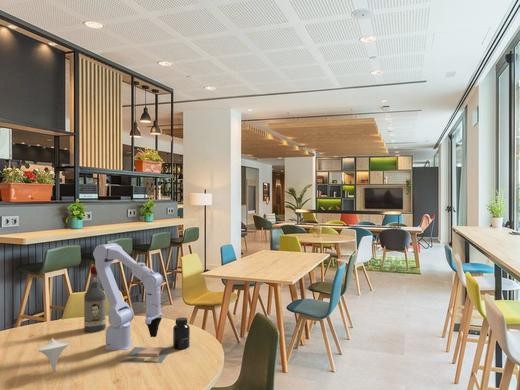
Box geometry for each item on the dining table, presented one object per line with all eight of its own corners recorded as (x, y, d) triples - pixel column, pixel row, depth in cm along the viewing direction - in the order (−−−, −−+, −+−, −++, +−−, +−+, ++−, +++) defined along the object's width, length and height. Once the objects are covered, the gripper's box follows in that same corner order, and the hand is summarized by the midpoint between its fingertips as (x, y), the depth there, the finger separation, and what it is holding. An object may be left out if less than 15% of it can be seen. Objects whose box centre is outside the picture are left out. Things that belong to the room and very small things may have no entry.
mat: (119, 363, 154) (119, 362, 154) (134, 348, 170) (134, 347, 170) (161, 363, 153) (161, 362, 153) (172, 348, 169) (172, 347, 169)
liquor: (84, 327, 198) (84, 266, 198) (104, 325, 201) (104, 264, 202) (84, 333, 189) (84, 268, 190) (105, 330, 193) (105, 267, 193)
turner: (120, 361, 155) (120, 359, 155) (124, 358, 158) (124, 355, 158) (156, 362, 154) (156, 359, 154) (159, 358, 158) (159, 355, 158)
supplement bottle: (186, 351, 166) (185, 321, 166) (170, 350, 168) (170, 320, 168) (192, 345, 173) (192, 316, 173) (177, 344, 174) (176, 316, 174)
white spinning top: (33, 372, 147) (33, 338, 147) (64, 363, 155) (64, 331, 155) (42, 381, 140) (42, 346, 140) (74, 371, 147) (74, 338, 147)
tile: (143, 350, 166) (137, 357, 159) (143, 346, 166) (137, 353, 159) (162, 350, 166) (157, 357, 159) (162, 346, 166) (157, 353, 159)
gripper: (157, 308, 159) (157, 342, 159) (168, 298, 174) (168, 330, 174) (139, 307, 160) (140, 342, 160) (151, 298, 174) (151, 330, 174)
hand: (153, 336), depth 167 cm, fingers closed
